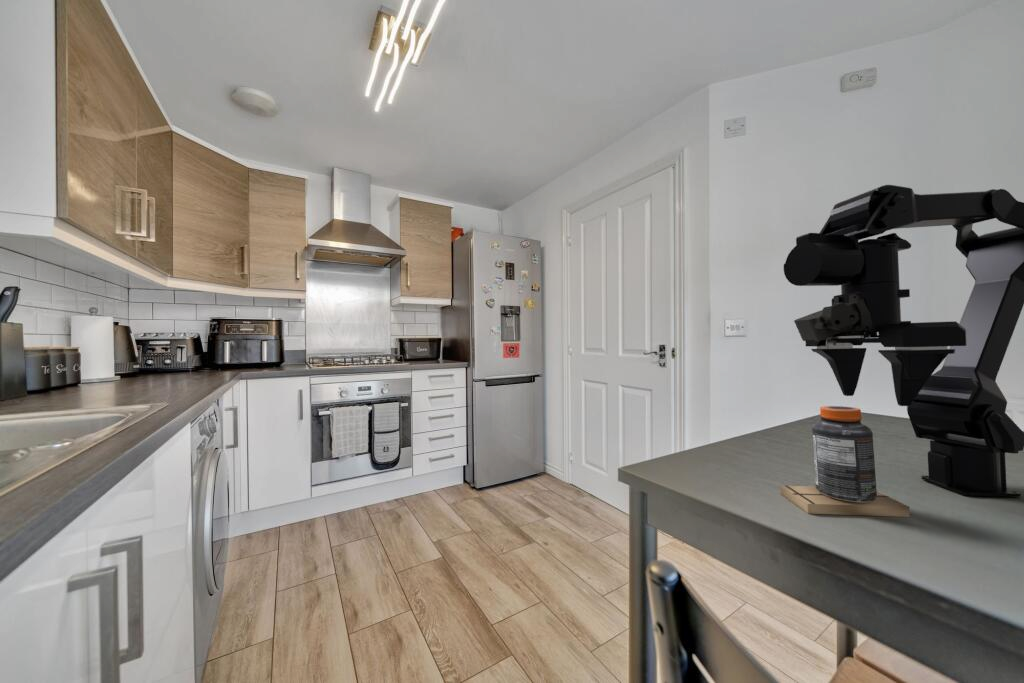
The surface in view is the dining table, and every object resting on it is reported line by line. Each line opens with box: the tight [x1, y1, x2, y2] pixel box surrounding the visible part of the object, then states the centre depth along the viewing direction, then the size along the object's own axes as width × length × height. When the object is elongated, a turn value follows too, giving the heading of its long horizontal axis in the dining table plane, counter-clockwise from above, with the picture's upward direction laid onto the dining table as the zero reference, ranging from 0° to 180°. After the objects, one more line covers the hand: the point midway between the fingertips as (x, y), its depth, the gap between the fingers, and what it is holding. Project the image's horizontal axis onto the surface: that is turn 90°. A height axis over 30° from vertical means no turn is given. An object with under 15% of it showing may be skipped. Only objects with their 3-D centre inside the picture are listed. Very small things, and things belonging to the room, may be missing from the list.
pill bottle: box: [811, 405, 878, 503], centre depth 49 cm, size 6×6×11 cm
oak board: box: [779, 485, 911, 518], centre depth 48 cm, size 11×6×1 cm, turn 81°
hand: (873, 400), depth 50 cm, fingers open, 9 cm apart
